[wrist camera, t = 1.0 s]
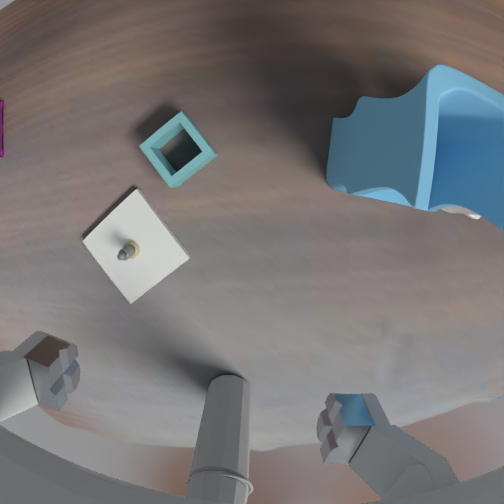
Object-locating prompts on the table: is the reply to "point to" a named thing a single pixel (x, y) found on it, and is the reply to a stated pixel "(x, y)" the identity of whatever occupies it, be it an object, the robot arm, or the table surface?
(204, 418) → the water bottle
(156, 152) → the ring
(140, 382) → the table surface
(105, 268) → the post stand
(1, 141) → the candy bar box
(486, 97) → the vase
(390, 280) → the table surface
